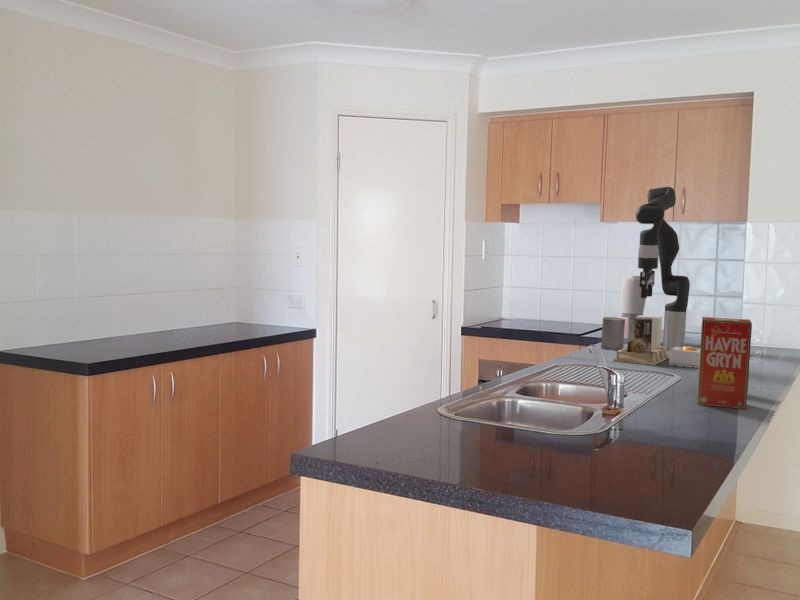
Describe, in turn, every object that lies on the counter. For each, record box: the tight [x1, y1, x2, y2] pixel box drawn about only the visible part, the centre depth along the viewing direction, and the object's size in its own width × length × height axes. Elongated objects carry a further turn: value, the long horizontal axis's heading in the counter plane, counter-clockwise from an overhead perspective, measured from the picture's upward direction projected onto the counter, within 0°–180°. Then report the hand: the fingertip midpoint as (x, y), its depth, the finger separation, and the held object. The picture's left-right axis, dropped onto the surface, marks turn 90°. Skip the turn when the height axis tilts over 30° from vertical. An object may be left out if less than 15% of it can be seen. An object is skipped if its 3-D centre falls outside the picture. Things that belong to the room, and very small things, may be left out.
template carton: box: [636, 314, 663, 350], centre depth 311 cm, size 6×9×16 cm, turn 59°
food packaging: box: [696, 316, 753, 410], centre depth 219 cm, size 13×9×25 cm
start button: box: [682, 345, 697, 351], centre depth 294 cm, size 5×5×5 cm
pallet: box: [613, 346, 669, 366], centre depth 306 cm, size 27×16×4 cm, turn 149°
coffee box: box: [626, 318, 652, 354], centre depth 299 cm, size 9×6×16 cm
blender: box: [620, 274, 647, 345], centre depth 361 cm, size 16×12×32 cm
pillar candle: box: [600, 316, 625, 351], centre depth 335 cm, size 10×10×15 cm
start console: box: [668, 347, 700, 369], centre depth 294 cm, size 12×12×6 cm
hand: (646, 297), depth 301 cm, fingers open, 8 cm apart
